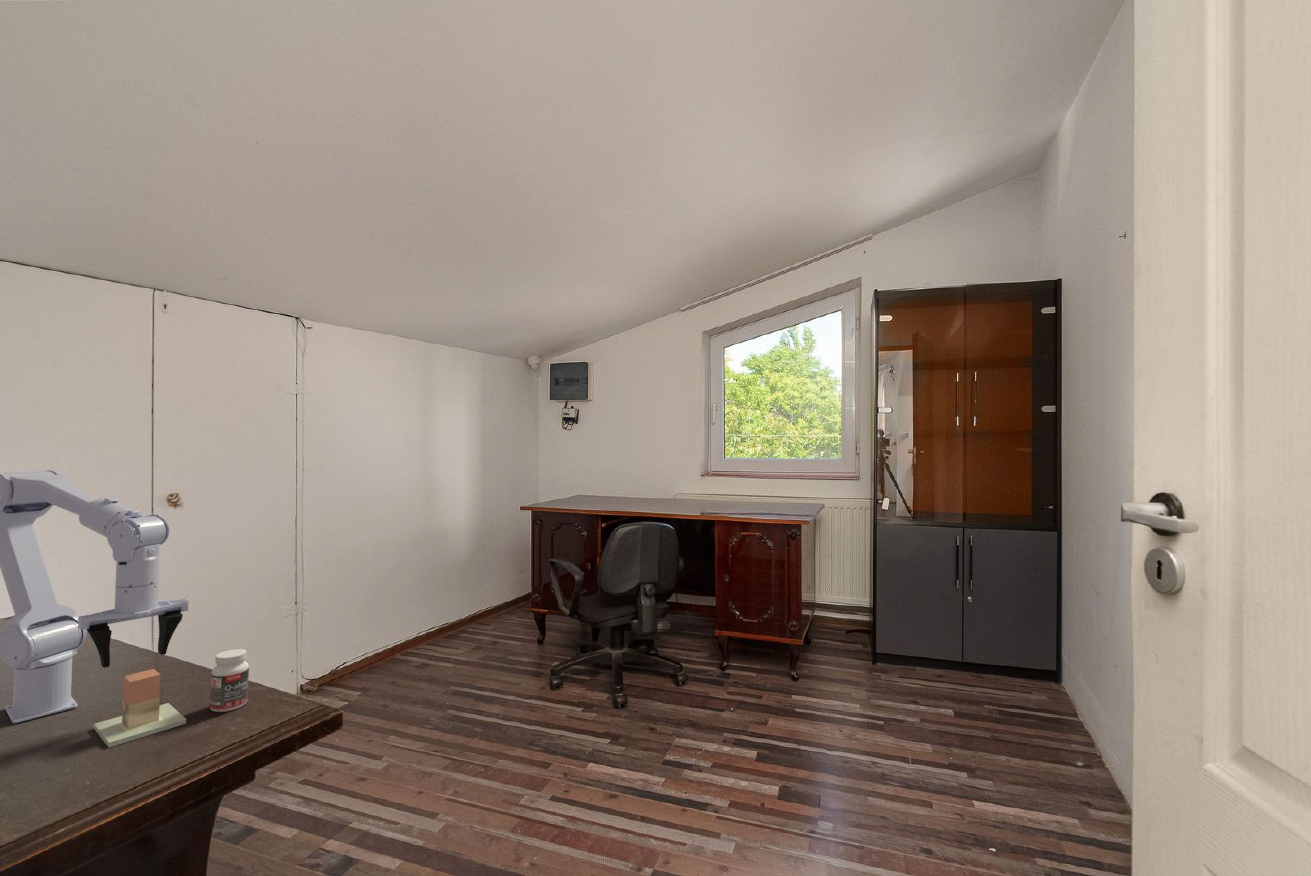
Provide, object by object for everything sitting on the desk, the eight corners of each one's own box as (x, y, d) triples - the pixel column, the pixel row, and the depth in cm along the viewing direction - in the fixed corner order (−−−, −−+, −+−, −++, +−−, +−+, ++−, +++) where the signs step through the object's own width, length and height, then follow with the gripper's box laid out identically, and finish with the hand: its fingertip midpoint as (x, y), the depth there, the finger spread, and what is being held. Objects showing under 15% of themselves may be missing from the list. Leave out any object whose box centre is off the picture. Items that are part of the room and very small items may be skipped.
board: (93, 728, 97) (93, 723, 97) (168, 707, 105) (168, 702, 105) (108, 747, 91) (108, 742, 91) (186, 723, 99) (186, 718, 99)
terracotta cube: (122, 698, 98) (123, 675, 98) (152, 691, 101) (153, 668, 101) (129, 705, 95) (130, 681, 96) (159, 697, 99) (160, 674, 99)
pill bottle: (227, 714, 103) (229, 660, 103) (201, 711, 104) (203, 657, 104) (255, 701, 109) (257, 649, 109) (230, 697, 110) (232, 646, 110)
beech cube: (121, 722, 98) (122, 699, 98) (152, 713, 101) (152, 691, 101) (128, 729, 95) (129, 705, 95) (158, 720, 99) (159, 697, 99)
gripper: (86, 595, 93) (83, 678, 93) (195, 579, 105) (192, 652, 105) (76, 588, 97) (73, 667, 97) (182, 574, 109) (180, 644, 109)
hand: (134, 659), depth 101 cm, fingers open, 7 cm apart
